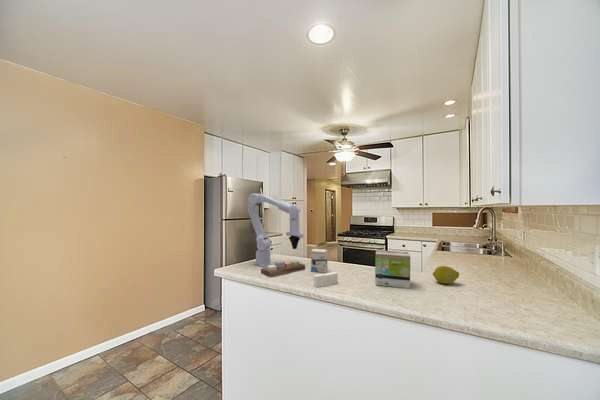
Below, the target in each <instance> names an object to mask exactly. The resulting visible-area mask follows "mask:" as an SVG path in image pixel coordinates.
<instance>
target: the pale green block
mask: <svg viewBox="0 0 600 400" xmlns="http://www.w3.org/2000/svg"><path fill="white" fill-rule="evenodd" d="M289 262H291V263H292V265H293V266H296V265H300V264H301V263H300V260H296V259H293V260H289Z"/></svg>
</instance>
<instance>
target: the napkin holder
mask: <svg viewBox="0 0 600 400" xmlns="http://www.w3.org/2000/svg"><path fill="white" fill-rule="evenodd" d="M338 278H339V273H338V272H336V271H332V272H328V273H327V272H326V273H320V274H313V286H314V287H316V288H320V286H321V287H324V286H326V287H328V286H329V287H330V286H333V285H337V284H338V283H339V281H338Z"/></svg>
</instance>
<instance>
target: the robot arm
mask: <svg viewBox="0 0 600 400" xmlns="http://www.w3.org/2000/svg"><path fill="white" fill-rule="evenodd" d="M262 203H267V204H270V205H272V206H275V207H277V209H278V210H279V211H281V212H283V213H286V214H289V231H286V232H285V236H290V237H288V239H289V241H290V243H291V248H292V249H293V250H296V249H297V248H298V245H299V242H300V240H301V239H304V237H305V236H304V234H303V233H301V232H300V212H301V209H300V207H299V206H298V205H294V204H293V203H289V202H287V200H285V199H284V200H280V201H278V200H276V199H275V198H273V197H270V196H268V195H266V194H262V193H255V192H253V193H251V194H249V196H248V198H247V206H246V207H247V213H248V215H249V218H250V221H251V224H252V226H253V230H254V231H255V235H256V239H255V240H256V248H257V250H256V252H255V262H254V264H255V265H257V266H259V267H261V268H262V267H263V268H264V267H267V266H269V265H274V263H273V262H271V246H272V241H271V239H270V238H269V236H268V235H267V233H266V231H265V230H264V226H263V224H262V221H261V218H260V215H259V213H258V208H259V206H260V205H261V204H262Z"/></svg>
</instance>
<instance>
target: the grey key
mask: <svg viewBox="0 0 600 400" xmlns="http://www.w3.org/2000/svg"><path fill="white" fill-rule="evenodd" d="M285 262H286V261H282V260H277V261H274V265H275V266H277V268H278V269H281V268H285Z"/></svg>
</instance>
